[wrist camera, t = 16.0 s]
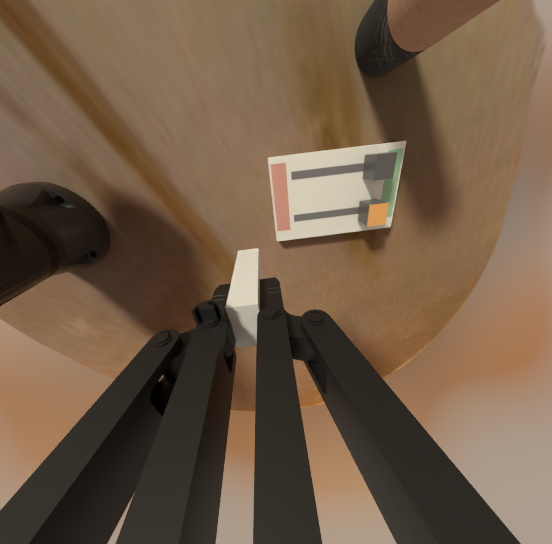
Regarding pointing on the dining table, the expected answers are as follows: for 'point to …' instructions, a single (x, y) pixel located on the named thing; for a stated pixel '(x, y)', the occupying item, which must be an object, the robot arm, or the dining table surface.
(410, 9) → the travel mug
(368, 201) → the breaker handle
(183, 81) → the dining table surface
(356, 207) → the board
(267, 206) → the dining table surface
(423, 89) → the dining table surface
